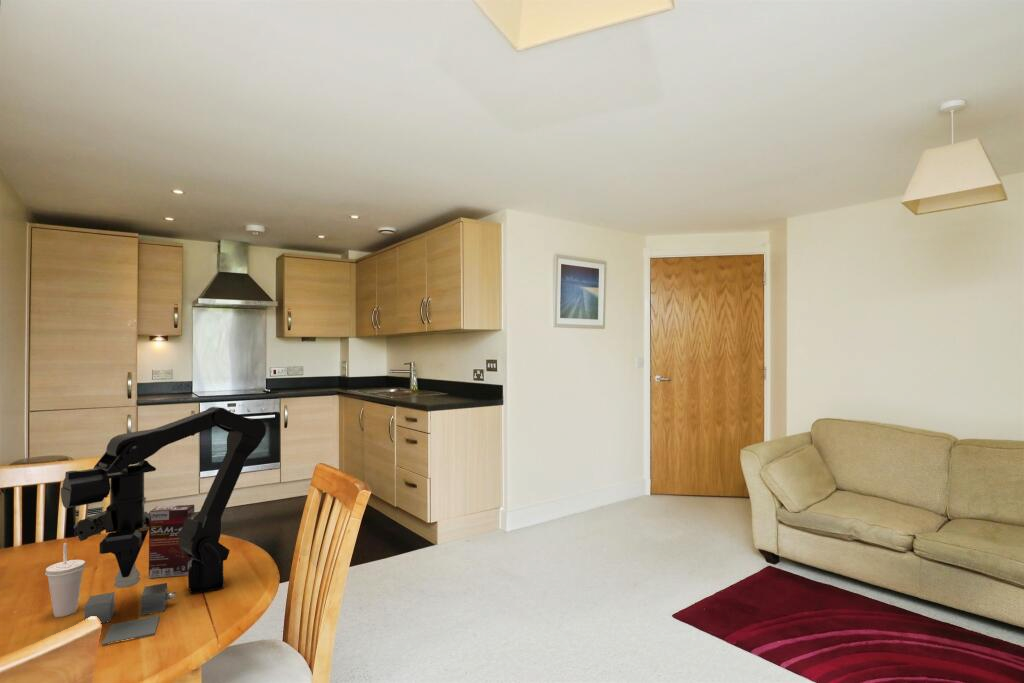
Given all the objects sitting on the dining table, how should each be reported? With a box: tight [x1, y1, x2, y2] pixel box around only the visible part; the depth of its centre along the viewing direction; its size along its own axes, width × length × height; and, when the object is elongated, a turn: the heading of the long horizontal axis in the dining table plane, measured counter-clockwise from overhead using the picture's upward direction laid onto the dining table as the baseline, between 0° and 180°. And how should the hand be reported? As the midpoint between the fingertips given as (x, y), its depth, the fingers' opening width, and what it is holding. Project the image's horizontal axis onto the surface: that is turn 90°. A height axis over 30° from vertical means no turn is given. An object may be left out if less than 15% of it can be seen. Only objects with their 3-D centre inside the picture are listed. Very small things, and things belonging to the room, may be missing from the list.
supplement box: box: [148, 504, 195, 579], centre depth 132 cm, size 9×5×16 cm, turn 101°
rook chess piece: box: [113, 562, 141, 589], centre depth 111 cm, size 4×4×8 cm
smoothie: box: [44, 542, 86, 618], centre depth 112 cm, size 6×6×14 cm
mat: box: [101, 614, 161, 647], centre depth 104 cm, size 8×8×1 cm
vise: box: [84, 582, 176, 624], centre depth 112 cm, size 15×5×4 cm, turn 117°
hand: (127, 573), depth 111 cm, fingers closed on rook chess piece, 3 cm apart
